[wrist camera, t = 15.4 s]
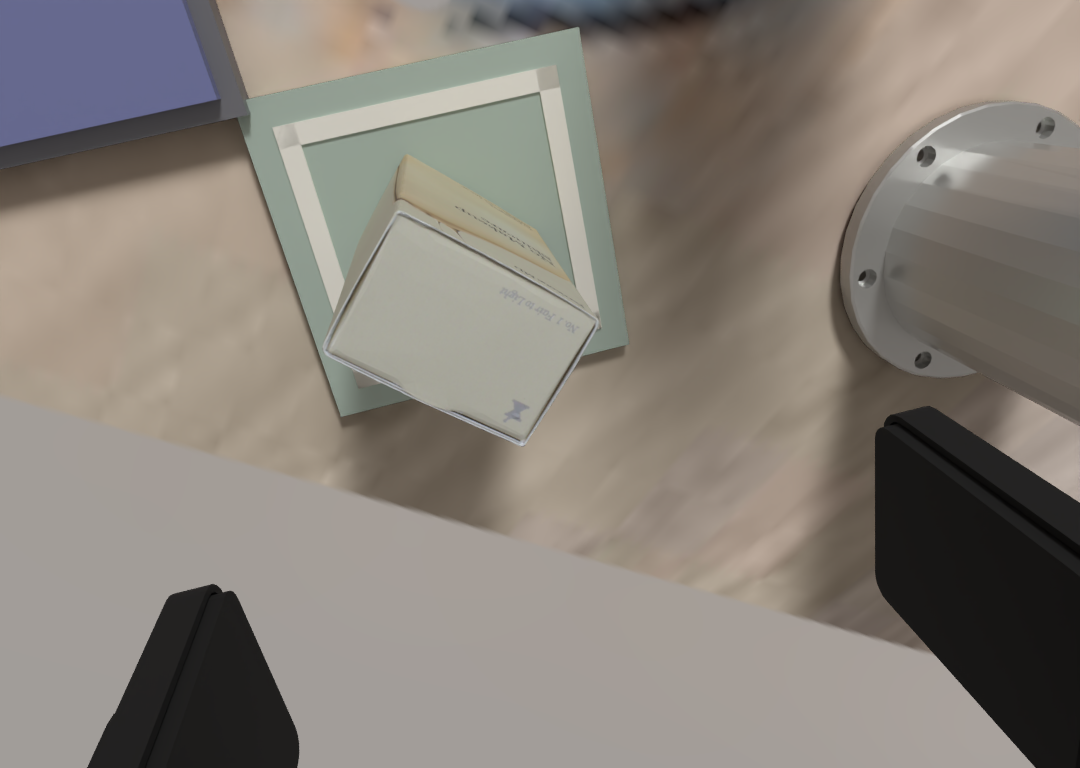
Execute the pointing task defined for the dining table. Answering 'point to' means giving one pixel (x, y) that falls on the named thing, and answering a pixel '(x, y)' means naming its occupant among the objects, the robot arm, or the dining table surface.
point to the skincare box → (459, 306)
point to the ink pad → (110, 73)
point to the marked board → (452, 149)
